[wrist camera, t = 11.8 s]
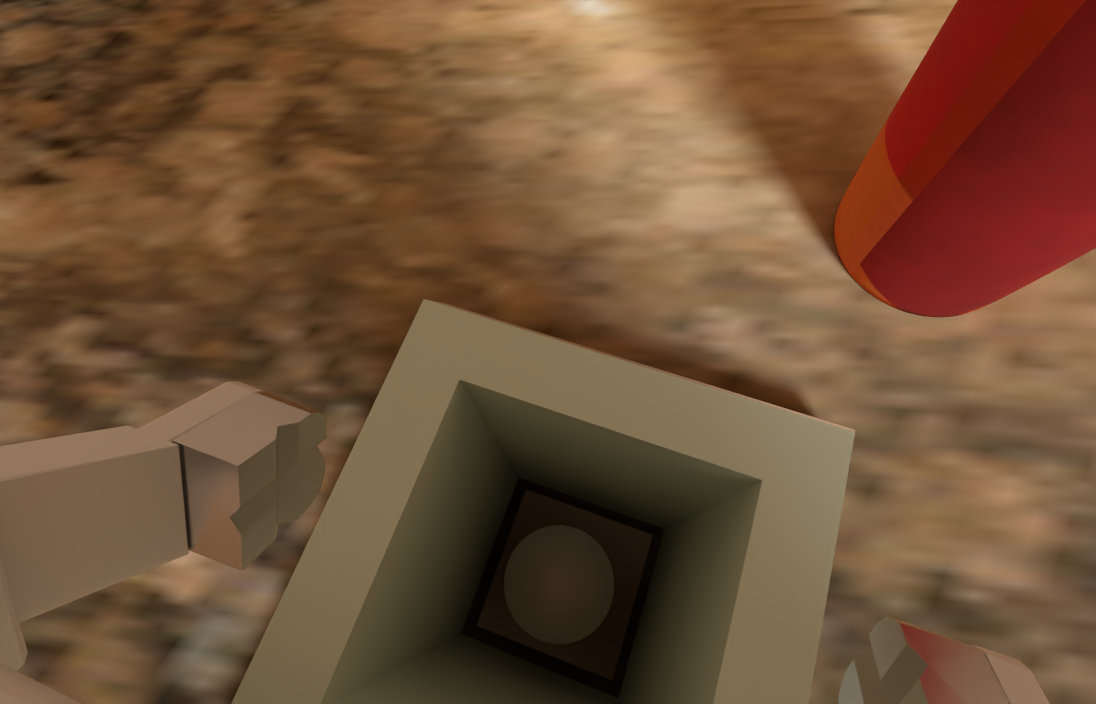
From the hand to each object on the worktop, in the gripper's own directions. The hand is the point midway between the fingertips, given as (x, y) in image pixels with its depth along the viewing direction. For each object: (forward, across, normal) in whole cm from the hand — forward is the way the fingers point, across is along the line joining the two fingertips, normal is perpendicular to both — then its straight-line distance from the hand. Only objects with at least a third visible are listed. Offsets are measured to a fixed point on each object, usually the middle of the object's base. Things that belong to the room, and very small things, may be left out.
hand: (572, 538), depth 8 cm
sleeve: (+4, 0, +5) cm, 6 cm away
